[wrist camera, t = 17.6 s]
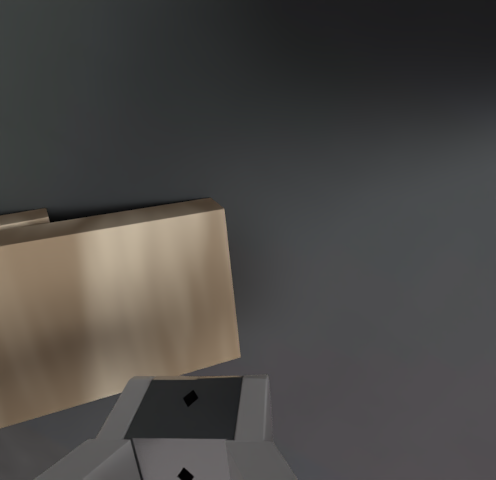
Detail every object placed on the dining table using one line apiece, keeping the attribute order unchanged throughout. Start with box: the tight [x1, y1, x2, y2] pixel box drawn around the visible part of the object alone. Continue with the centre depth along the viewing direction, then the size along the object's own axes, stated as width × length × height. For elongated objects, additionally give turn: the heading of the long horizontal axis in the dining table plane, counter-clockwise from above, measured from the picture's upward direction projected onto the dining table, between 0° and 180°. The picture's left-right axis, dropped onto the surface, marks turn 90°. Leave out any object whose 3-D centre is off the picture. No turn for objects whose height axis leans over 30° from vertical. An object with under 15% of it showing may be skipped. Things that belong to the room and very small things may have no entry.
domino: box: [0, 198, 241, 428], centre depth 12 cm, size 2×6×10 cm
